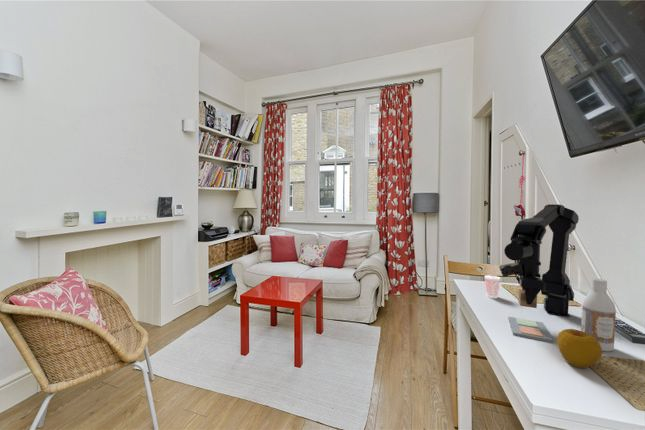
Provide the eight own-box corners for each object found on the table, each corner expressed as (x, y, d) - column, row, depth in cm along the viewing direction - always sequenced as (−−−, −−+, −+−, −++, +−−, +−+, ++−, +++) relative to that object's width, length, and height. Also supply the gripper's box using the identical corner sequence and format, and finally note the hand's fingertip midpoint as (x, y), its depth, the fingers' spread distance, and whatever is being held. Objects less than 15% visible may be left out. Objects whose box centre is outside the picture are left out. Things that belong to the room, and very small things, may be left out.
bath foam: (589, 350, 79) (592, 282, 78) (575, 338, 85) (578, 275, 84) (620, 354, 77) (623, 284, 76) (603, 342, 83) (606, 277, 82)
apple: (609, 372, 68) (611, 337, 68) (583, 376, 67) (585, 341, 66) (572, 353, 77) (573, 323, 76) (548, 357, 75) (549, 325, 75)
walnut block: (534, 303, 95) (534, 291, 95) (536, 308, 91) (537, 295, 91) (518, 301, 97) (518, 289, 97) (520, 305, 93) (520, 292, 93)
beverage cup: (483, 297, 123) (484, 266, 122) (484, 293, 128) (484, 264, 127) (499, 299, 119) (500, 268, 119) (499, 295, 125) (500, 265, 124)
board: (542, 324, 95) (542, 321, 95) (552, 342, 83) (552, 339, 83) (508, 318, 100) (508, 315, 100) (512, 334, 88) (513, 331, 88)
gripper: (499, 251, 105) (497, 290, 106) (503, 260, 89) (502, 306, 90) (535, 253, 100) (533, 295, 101) (546, 263, 84) (544, 313, 84)
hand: (527, 301), depth 94 cm, fingers closed on walnut block, 4 cm apart
